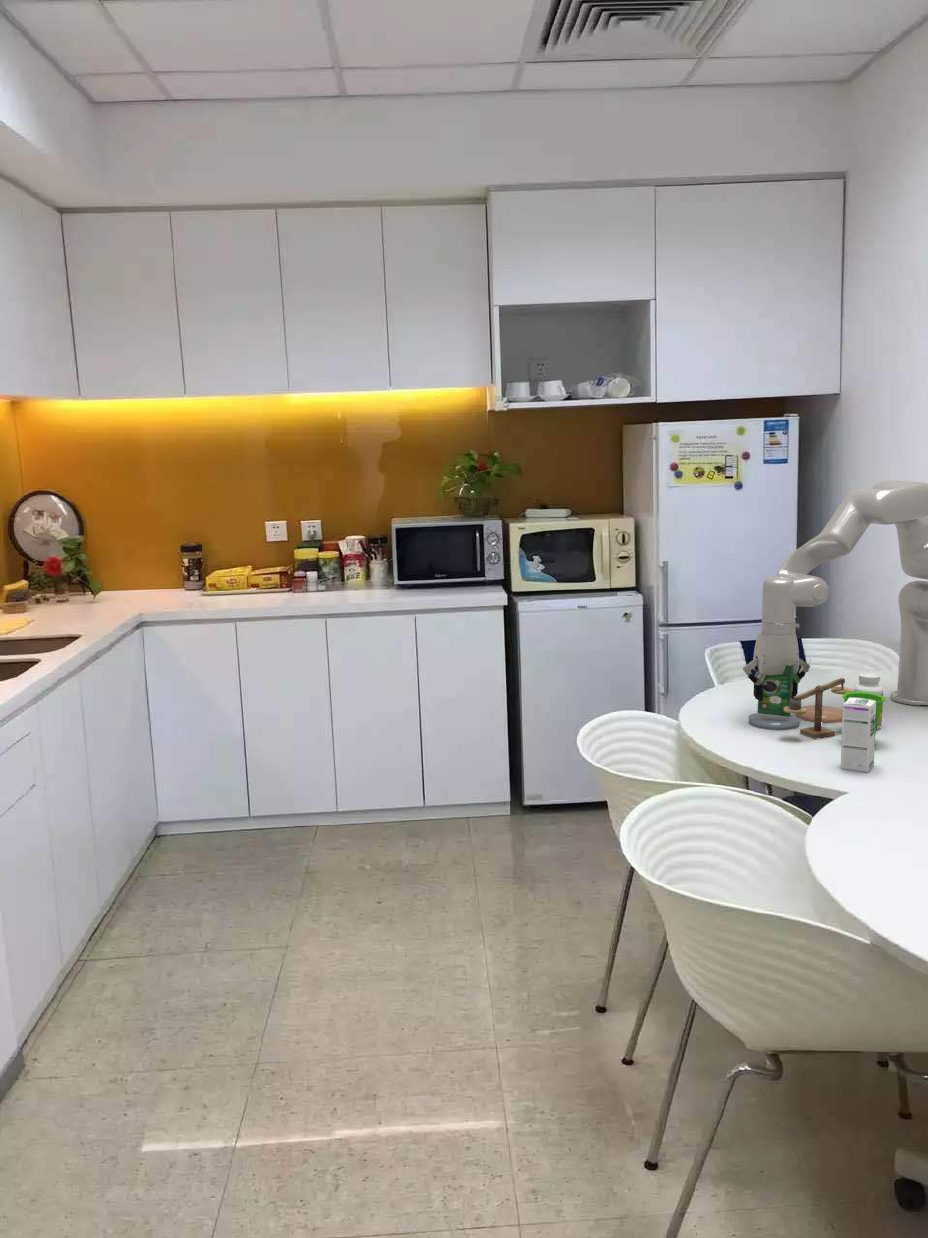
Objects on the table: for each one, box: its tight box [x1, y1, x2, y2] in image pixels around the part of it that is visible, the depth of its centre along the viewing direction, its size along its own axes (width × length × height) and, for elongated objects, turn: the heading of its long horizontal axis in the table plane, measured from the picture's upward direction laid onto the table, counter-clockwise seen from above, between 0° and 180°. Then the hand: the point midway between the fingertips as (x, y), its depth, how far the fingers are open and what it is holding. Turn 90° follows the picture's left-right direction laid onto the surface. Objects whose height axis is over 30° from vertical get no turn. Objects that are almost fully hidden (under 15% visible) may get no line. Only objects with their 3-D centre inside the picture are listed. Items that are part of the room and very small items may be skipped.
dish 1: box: [748, 712, 801, 731], centre depth 247 cm, size 12×12×1 cm
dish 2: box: [795, 704, 843, 724], centre depth 252 cm, size 12×12×1 cm
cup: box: [841, 692, 886, 736], centre depth 229 cm, size 9×9×11 cm
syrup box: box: [840, 697, 876, 773], centre depth 213 cm, size 6×6×14 cm
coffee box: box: [756, 664, 793, 717], centre depth 245 cm, size 8×3×13 cm, turn 62°
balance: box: [784, 677, 854, 740], centre depth 236 cm, size 19×5×13 cm, turn 112°
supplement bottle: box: [853, 672, 884, 730], centre depth 241 cm, size 7×7×13 cm
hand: (775, 698), depth 246 cm, fingers closed on coffee box, 7 cm apart
